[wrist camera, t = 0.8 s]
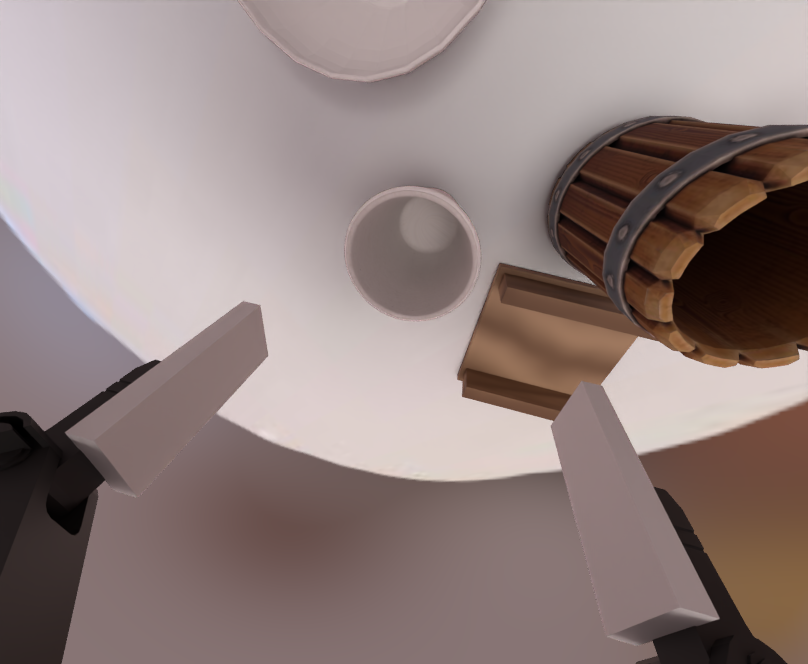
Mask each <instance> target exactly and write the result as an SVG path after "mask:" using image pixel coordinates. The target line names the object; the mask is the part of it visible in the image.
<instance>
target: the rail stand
mask: <svg viewBox="0 0 808 664" xmlns="http://www.w3.org/2000/svg"><path fill="white" fill-rule="evenodd" d="M638 336H639V337H643V338H647V339H651V340H655V341H658V340H657V339H656V338H654V337H652V336H651V335H649V334H648V333H646V332H645V331H643V330H642V329H640V328H639V327H637V326H636V325H635V324H634V323H633V322H632V321H630V320H629V319H628V318H627V317H626V316H625V315H624V314H623V313H622V312H621V311H619V310H618V308H617V307H616V305H615V304H614V303H613V301H612V300H611V299H610V297H609V296H608V295H607V294H606V293H605V292H604V291H602V290H601V289H600V288H599V287H598V286H595V285H591V284H587V283H583V282H578V281H574V280H570V279H566V278H561V277H557V276H553V275H549V274H544V273H540V272H536V271H532V270H527V269H523V268H519V267H515V266H510V265H506V264H502V263H500V264H499V267H498V269H497V272H496V275H495V277H494V280H493V283H492V285H491V288H490V291H489V293H488V296H487V299H486V301H485V304H484V307H483V309H482V312H481V314H480V317H479V320H478V322H477V325H476V328H475V330H474V333H473V336H472V338H471V341H470V344H469V346H468V349H467V352H466V354H465V357H464V360H463V362H462V365H461V367H460V370H459V373H458V377H457V380H461V381H463V387H462V397H465V398H469V399H473V400H477V401H481V402H484V403H488V404H492V405H496V406H500V407H503V408H507V409H511V410H515V411H519V412H522V413H526V414H530V415H534V416H537V417H541V418H545V419H549V420H553V421H554V420H555V419H556V417H557V416H558V414H559V413H560V412H561V410H562V409H563V407H564V406H565V404H566V403H567V401H568V400H569V398H570V397H571V396H572V394H573V393H574V391H575V390H576V388H577V387H578V385H579V384H580V382H581V381H584V382H589V383H593V384H597V385H601V383H602V382H603V381H604V380H605V378H606V377H607V376H608V374H609V373H610V372H611V371H612V369H613V368H614V367H615V365H616V364H617V363H618V362H619V360H620V359H621V358H622V356H623V355H624V354H625V353H626V351H627V350H628V349H629V347H630V346H631V345H632V344H633V342H634V341H635V340H636V338H637V337H638Z"/></svg>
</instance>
